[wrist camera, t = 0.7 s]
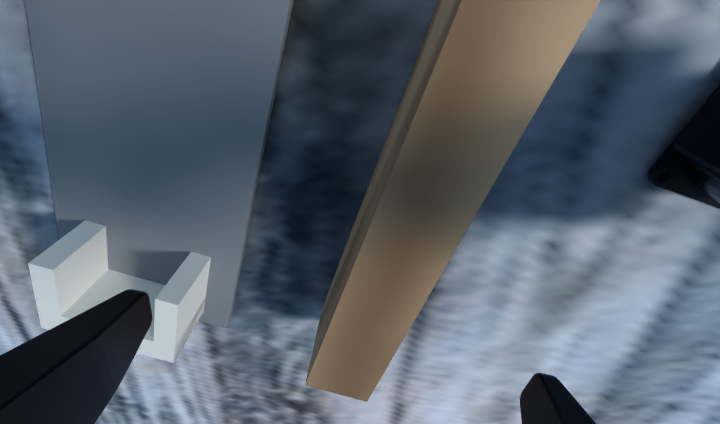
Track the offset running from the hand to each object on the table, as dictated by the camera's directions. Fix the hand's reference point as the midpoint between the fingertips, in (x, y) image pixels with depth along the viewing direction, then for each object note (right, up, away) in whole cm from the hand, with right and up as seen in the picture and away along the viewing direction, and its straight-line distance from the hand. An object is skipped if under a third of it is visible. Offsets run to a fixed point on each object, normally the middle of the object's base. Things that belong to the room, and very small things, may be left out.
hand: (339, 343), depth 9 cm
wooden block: (+3, +4, +11) cm, 13 cm away
